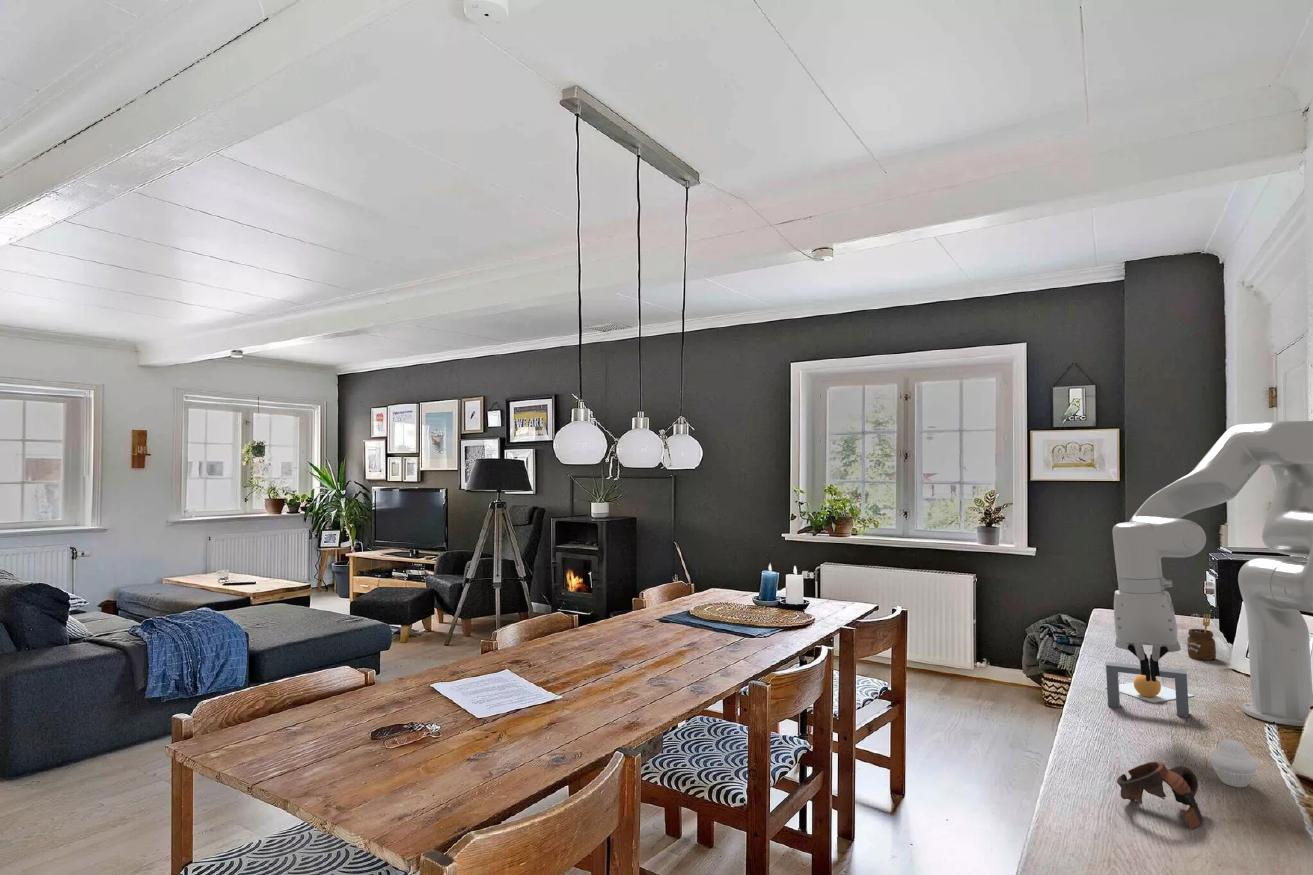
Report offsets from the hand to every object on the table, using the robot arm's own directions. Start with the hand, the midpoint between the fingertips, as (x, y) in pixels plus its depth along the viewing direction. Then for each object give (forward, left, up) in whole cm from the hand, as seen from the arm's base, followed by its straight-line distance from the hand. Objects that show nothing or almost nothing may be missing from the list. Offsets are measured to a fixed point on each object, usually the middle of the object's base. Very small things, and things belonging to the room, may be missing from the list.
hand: (1151, 679), depth 143 cm
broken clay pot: (+30, +26, -10) cm, 41 cm away
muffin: (+11, +22, -10) cm, 27 cm away
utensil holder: (-58, -32, -10) cm, 67 cm away
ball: (-17, -14, -7) cm, 23 cm away
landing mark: (-20, -17, -9) cm, 28 cm away
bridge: (-9, -8, -9) cm, 15 cm away
